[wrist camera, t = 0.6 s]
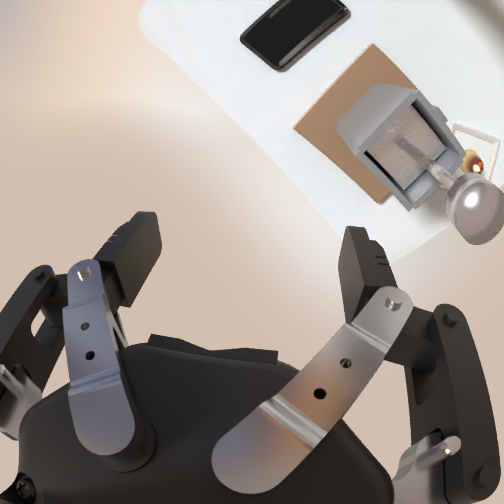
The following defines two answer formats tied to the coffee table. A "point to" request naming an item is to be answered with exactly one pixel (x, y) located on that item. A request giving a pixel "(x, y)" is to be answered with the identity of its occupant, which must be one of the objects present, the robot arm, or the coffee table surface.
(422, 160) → the plunger
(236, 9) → the coffee table surface
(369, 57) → the grey square holder
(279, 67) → the phone
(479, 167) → the dessert
